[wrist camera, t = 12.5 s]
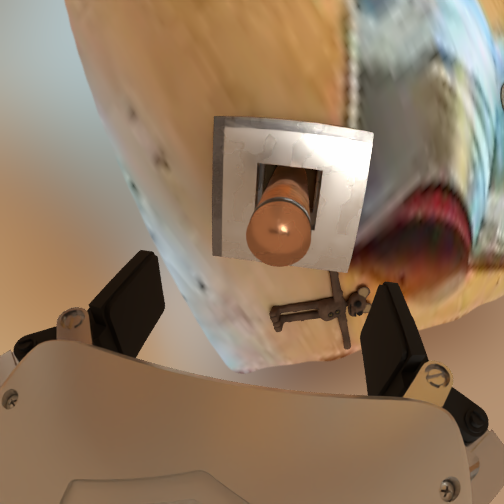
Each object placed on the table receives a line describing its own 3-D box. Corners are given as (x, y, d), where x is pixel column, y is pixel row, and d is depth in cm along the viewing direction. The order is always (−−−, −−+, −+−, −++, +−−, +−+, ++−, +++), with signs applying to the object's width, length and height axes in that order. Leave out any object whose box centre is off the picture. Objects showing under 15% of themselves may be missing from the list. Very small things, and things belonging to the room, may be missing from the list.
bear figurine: (250, 274, 36) (366, 254, 30) (259, 257, 39) (363, 238, 34) (286, 365, 43) (376, 356, 37) (291, 346, 46) (375, 337, 41)
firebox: (234, 116, 29) (214, 116, 22) (356, 129, 28) (373, 133, 21) (230, 226, 36) (212, 255, 29) (339, 239, 34) (347, 272, 27)
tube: (273, 159, 31) (246, 202, 16) (309, 163, 31) (316, 210, 16) (271, 192, 33) (243, 262, 18) (305, 196, 33) (306, 271, 18)
